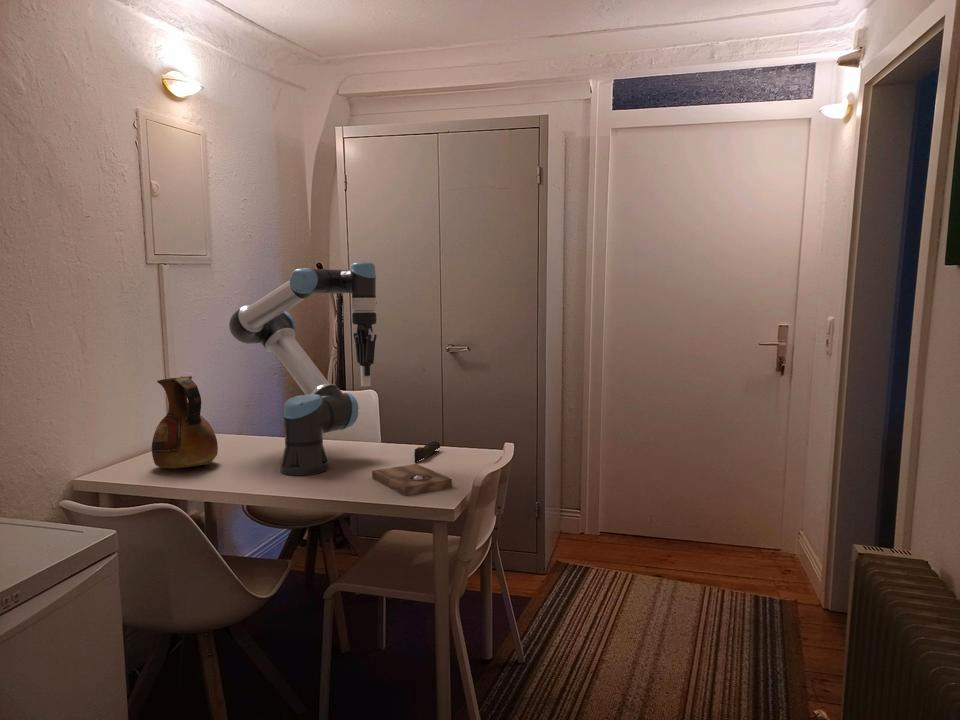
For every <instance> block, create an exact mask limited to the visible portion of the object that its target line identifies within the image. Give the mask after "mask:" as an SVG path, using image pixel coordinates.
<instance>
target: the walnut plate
mask: <svg viewBox="0 0 960 720" xmlns="http://www.w3.org/2000/svg"><path fill="white" fill-rule="evenodd" d="M371 473H372V474H371V476H372V477H371V479H373V480H374V481H376V482H378V483H380V484H381V485H384V486H386V487H387V488H389V489H391V490H393V491H395V492H396V493H399V494H401V495H403V496H405V497H406V496H411V495H417V494H424V493H429V492H433V491H440V490H445V489H451V488H453V479H452V478H450V477H448V476H445V475H443V474H441V473H438V472H436V471H434V470H431V469H429V468H427V467H425V466H423V465H421V464H418V463H415V464H413V463H412V464H406V465H400V466H399V465H398V466H394V467H393V466H392V467H385V468H380V469H373V470H371ZM417 475H420V476H422V477H423V479H419V480H414V479H413V478H414V477H415V476H417Z"/></svg>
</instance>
